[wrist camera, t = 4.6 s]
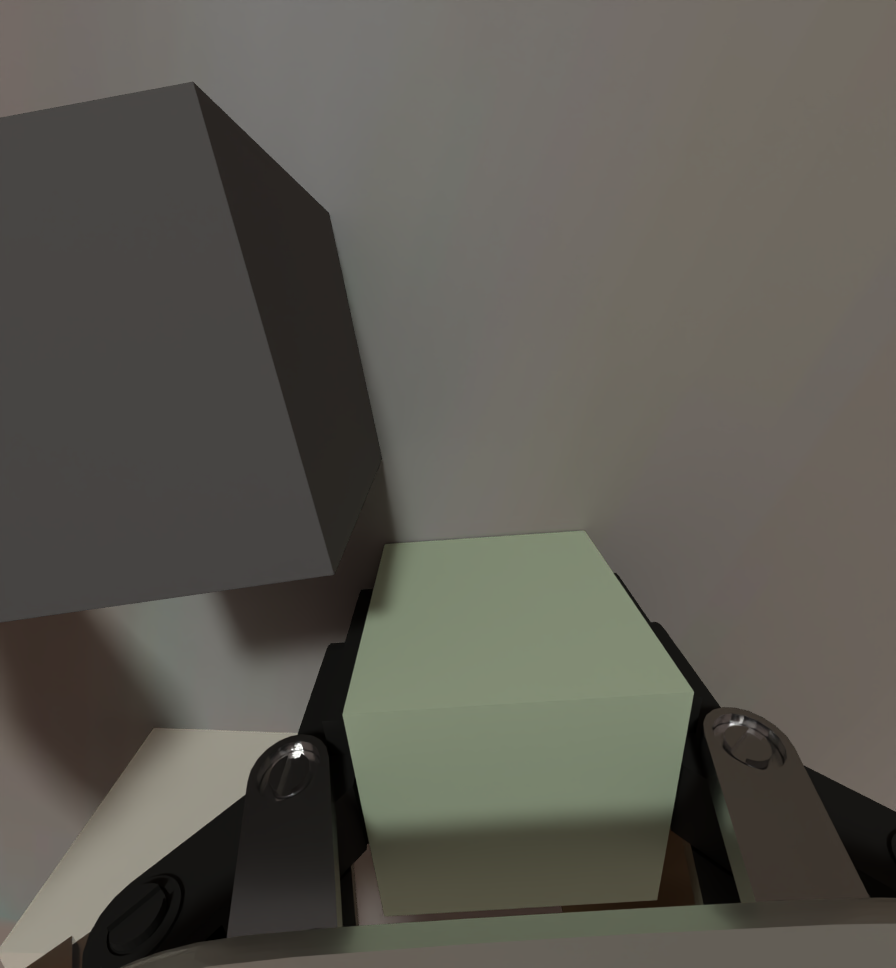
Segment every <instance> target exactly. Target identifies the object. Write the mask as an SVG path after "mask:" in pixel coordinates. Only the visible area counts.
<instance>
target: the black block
mask: <svg viewBox="0 0 896 968" xmlns="http://www.w3.org/2000/svg"><path fill="white" fill-rule="evenodd" d="M381 460H382V456H381V452H380V447H379V442H378V438H377V433H376V428H375V424H374V419H373V415H372V410H371V405H370V401H369V396H368V391H367V387H366V382H365V378H364V373H363V368H362V364H361V359H360V355H359V350H358V345H357V341H356V336H355V331H354V327H353V322H352V318H351V313H350V308H349V304H348V299H347V294H346V290H345V285H344V281H343V276H342V271H341V267H340V262H339V258H338V253H337V248H336V244H335V239H334V234H333V230H332V225H331V221H330V216H329V213H328V212H327V211H326V210H325V209H324V208H323V207H322V206H321V205H320V204H319V203H318V202H317V201H316V200H315V199H314V198H313V197H312V196H311V195H310V194H309V193H308V192H307V191H306V190H305V189H304V188H303V187H302V186H300V185H299V184H298V183H297V182H296V181H295V180H294V179H293V178H292V177H291V176H290V175H289V174H288V173H287V172H286V171H285V170H284V169H283V168H282V167H281V166H280V165H279V164H278V163H277V162H276V161H275V160H274V159H272V158H271V157H270V156H269V155H268V154H267V153H266V152H265V151H264V150H263V149H262V148H261V147H260V146H259V145H258V144H257V143H256V142H255V141H254V140H253V139H252V138H251V137H250V136H249V135H248V134H247V133H246V132H245V131H243V130H242V129H241V128H240V127H239V126H238V125H237V124H236V123H235V122H234V121H233V120H232V119H231V118H230V117H229V116H228V115H227V114H226V113H225V112H224V111H223V110H222V109H221V108H220V107H219V106H218V105H217V104H215V103H214V102H213V101H212V100H211V99H210V98H209V97H208V96H207V95H206V94H205V93H204V92H203V91H202V90H201V89H200V88H199V87H198V86H197V85H196V84H195V83H194V82H189V83H184V84H178V85H173V86H168V87H162V88H157V89H152V90H146V91H141V92H136V93H130V94H125V95H119V96H114V97H109V98H103V99H98V100H93V101H87V102H82V103H77V104H71V105H66V106H61V107H55V108H50V109H44V110H39V111H34V112H28V113H23V114H18V115H12V116H7V117H2V118H0V622H7V621H14V620H21V619H28V618H35V617H42V616H49V615H56V614H63V613H70V612H77V611H84V610H91V609H98V608H105V607H112V606H119V605H126V604H133V603H140V602H147V601H154V600H161V599H168V598H175V597H182V596H189V595H196V594H203V593H210V592H217V591H224V590H231V589H238V588H245V587H252V586H259V585H266V584H273V583H280V582H287V581H294V580H301V579H308V578H315V577H322V576H329V575H334V574H335V572H336V569H337V567H338V564H339V562H340V559H341V557H342V555H343V552H344V550H345V547H346V545H347V542H348V540H349V538H350V535H351V533H352V530H353V528H354V525H355V523H356V521H357V518H358V516H359V513H360V511H361V508H362V506H363V503H364V501H365V499H366V496H367V494H368V491H369V489H370V486H371V484H372V482H373V479H374V477H375V474H376V472H377V469H378V467H379V465H380V462H381Z"/></svg>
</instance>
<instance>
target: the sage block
mask: <svg viewBox="0 0 896 968" xmlns="http://www.w3.org/2000/svg"><path fill="white" fill-rule="evenodd" d="M693 695H694V691H693V690H692V688H691V687H690V685H689V684H688V682H687V681H686V679H685V678H684V676H683V675H682V673H681V672H680V670H679V669H678V668H677V666H676V665H675V663H674V662H673V660H672V659H671V657H670V656H669V654H668V653H667V651H666V650H665V648H664V647H663V645H662V644H661V642H660V641H659V640H658V638H657V637H656V635H655V634H654V632H653V631H652V629H651V628H650V626H649V625H648V623H647V622H646V620H645V619H644V617H643V616H642V614H641V613H640V612H639V610H638V609H637V607H636V606H635V604H634V603H633V601H632V600H631V598H630V597H629V595H628V594H627V592H626V591H625V589H624V588H623V587H622V585H621V584H620V582H619V581H618V579H617V578H616V576H615V575H614V573H613V572H612V570H611V569H610V567H609V566H608V564H607V563H606V561H605V560H604V559H603V557H602V556H601V554H600V553H599V551H598V550H597V548H596V547H595V545H594V544H593V542H592V541H591V539H590V538H589V536H588V535H587V534H586V532H585V531H571V532H556V533H541V534H527V535H512V536H497V537H482V538H467V539H452V540H438V541H423V542H408V543H393V544H385V545H384V549H383V553H382V557H381V561H380V565H379V569H378V573H377V577H376V581H375V585H374V589H373V593H372V597H371V601H370V605H369V609H368V613H367V618H366V622H365V626H364V630H363V634H362V638H361V642H360V646H359V650H358V654H357V658H356V662H355V666H354V670H353V674H352V678H351V682H350V686H349V690H348V694H347V698H346V702H345V706H344V710H343V719H344V724H345V729H346V734H347V739H348V743H349V748H350V753H351V758H352V763H353V768H354V772H355V777H356V782H357V787H358V792H359V796H360V801H361V806H362V811H363V816H364V821H365V825H366V830H367V835H368V840H369V845H370V849H371V854H372V859H373V864H374V869H375V874H376V878H377V883H378V888H379V893H380V898H381V903H382V907H383V912H384V916H400V915H417V914H434V913H450V912H467V911H484V910H501V909H517V908H534V907H551V906H567V905H584V904H601V903H618V902H634V901H651V900H657V898H658V892H659V886H660V881H661V875H662V870H663V864H664V858H665V853H666V847H667V841H668V836H669V830H670V825H671V819H672V813H673V808H674V802H675V797H676V791H677V785H678V780H679V774H680V768H681V763H682V757H683V752H684V746H685V740H686V735H687V729H688V723H689V718H690V712H691V707H692V701H693Z"/></svg>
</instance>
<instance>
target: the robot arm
mask: <svg viewBox="0 0 896 968" xmlns="http://www.w3.org/2000/svg"><path fill="white" fill-rule="evenodd" d="M614 575H615V576H616V578H617V579H618V581H619V582H620V584H621V585H622V587H623V588H624V589H625V591H626V592H627V594H628V595H629V597H630V598H631V600H632V601H633V603H634V604H635V606H636V607H637V609H638V610H639V612H640V613H641V614H642V616H643V617H644V619H645V620H646V622H647V623H648V625H649V626H650V628H651V629H652V631H653V632H654V634H655V635H656V637H657V638H658V640H659V641H660V642H661V644H662V645H663V647H664V648H665V650H666V651H667V653H668V654H669V656H670V657H671V659H672V660H673V662H674V663H675V665H676V666H677V668H678V669H679V670H680V672H681V673H682V675H683V676H684V678H685V679H686V681H687V682H688V684H689V685H690V687H691V688H692V690H693V691H694V695H693V701H692V707H691V712H690V718H689V723H688V729H687V735H686V740H685V746H684V752H683V757H682V763H681V768H680V774H679V780H678V785H677V791H676V797H675V802H674V808H673V813H672V819H671V825H670V829H671V831H672V832H674V833H675V834H677V835H678V836H679V837H681V838H682V841H683V847H684V852H685V857H686V862H687V867H688V872H689V877H690V882H691V887H692V892H693V897H694V902H695V905H694V906H675V907H656V908H638V909H621V910H604V911H587V912H571V913H554V914H537V915H521V916H504V917H488V918H472V919H457V920H441V921H426V922H411V923H396V924H381V925H366V926H359V920H358V908H357V897H356V885H355V874H354V862H355V861H356V860H357V859H358V858H359V857H360V856H361V855H362V854H363V853H364V852H365V851H366V849H367V844H369V840H368V835H367V830H366V825H365V821H364V816H363V811H362V806H361V801H360V796H359V792H358V787H357V782H356V777H355V772H354V768H353V763H352V758H351V753H350V748H349V743H348V739H347V734H346V729H345V724H344V719H343V710H344V706H345V702H346V698H347V694H348V690H349V686H350V682H351V678H352V674H353V670H354V666H355V662H356V658H357V654H358V650H359V646H360V642H361V638H362V634H363V630H364V626H365V622H366V618H367V613H368V609H369V605H370V601H371V597H372V593H373V589H364V590H361V591H360V594H359V597H358V600H357V604H356V607H355V611H354V614H353V617H352V621H351V624H350V628H349V631H348V634H347V638H346V641H345V643H331V644H330V645H329V646H328V648H327V650H326V653H325V656H324V659H323V662H322V665H321V668H320V671H319V673H318V676H317V679H316V682H315V685H314V688H313V691H312V694H311V697H310V700H309V703H308V705H307V708H306V711H305V714H304V717H303V720H302V723H301V726H300V729H299V732H298V735H294V736H289V737H287V738H285V739H282V740H280V741H278V742H276V743H275V744H274V745H272V746H271V747H269V748H268V749H267V750H266V751H265V752H264V753H263V754H262V755H261V756H260V757H259V758H258V759H257V761H256V762H255V764H254V766H253V767H252V769H251V771H250V774H249V778H248V781H247V788H246V794H245V795H244V796H243V797H241V798H240V799H239V800H237V801H236V802H235V803H234V804H232V805H231V806H230V807H228V808H227V809H226V810H224V811H223V812H222V813H221V814H219V815H218V816H217V817H215V818H214V819H213V820H211V821H210V822H209V823H208V824H206V825H205V826H204V827H202V828H201V829H200V830H198V831H197V832H196V833H195V834H193V835H192V836H191V837H189V838H188V839H187V840H185V841H184V842H183V843H182V844H180V845H179V846H178V847H176V848H175V849H174V850H173V851H171V852H170V853H169V854H167V855H166V856H165V857H163V858H162V859H161V860H160V861H158V862H157V863H156V864H154V865H153V866H152V867H150V868H149V869H148V870H147V871H145V872H144V873H143V874H141V875H140V876H139V877H137V878H136V879H135V880H134V881H132V882H131V883H130V884H129V885H127V886H126V887H125V888H124V889H123V890H122V891H121V892H120V893H119V894H118V895H116V896H115V897H114V898H113V900H112V901H111V902H110V903H109V905H108V906H107V907H106V908H105V910H104V911H103V912H102V913H101V915H100V916H99V918H98V920H97V921H96V923H95V925H94V927H93V928H92V930H91V932H89V933H88V934H86V935H85V936H84V937H82V938H81V939H79V940H78V941H75V939H74V938H73V936H71V937H69V938H68V939H66V940H65V941H64V942H62V943H61V944H59V945H58V946H56V947H55V948H53V949H52V950H51V951H49V952H48V953H46V954H45V955H43V956H42V957H40V958H39V959H37V960H36V961H35V962H33V963H32V964H30V965H29V966H27V967H26V968H896V812H895V811H893V810H891V809H889V808H887V807H885V806H883V805H881V804H879V803H877V802H875V801H873V800H871V799H869V798H867V797H865V796H863V795H861V794H859V793H857V792H855V791H853V790H851V789H849V788H847V787H845V786H843V785H841V784H839V783H837V782H835V781H834V780H832V779H830V778H828V777H826V776H824V775H822V774H820V773H818V772H816V771H814V770H812V769H810V768H808V767H806V766H804V765H803V763H802V761H801V759H800V757H799V755H798V753H797V751H796V749H795V748H794V746H793V745H792V743H791V742H790V740H789V739H788V737H787V736H786V735H785V734H784V733H783V732H782V731H781V730H780V729H779V728H777V727H776V726H775V725H774V724H772V723H771V722H769V721H768V720H766V719H765V718H763V717H761V716H759V715H756V714H754V713H752V712H750V711H746V710H743V709H739V708H731V707H722V708H721V707H720V706H719V704H718V703H717V702H716V700H715V699H714V697H713V696H712V695H711V693H710V692H709V690H708V689H707V688H706V686H705V685H704V684H703V682H702V681H701V679H700V678H699V677H698V675H697V674H696V672H695V671H694V670H693V668H692V667H691V665H690V664H689V663H688V661H687V660H686V659H685V657H684V656H683V654H682V653H681V652H680V650H679V649H678V647H677V646H676V645H675V643H674V642H673V640H672V639H671V638H670V636H669V635H668V634H667V632H666V631H665V629H664V628H663V627H662V626H661V625H660V624H659V623H657V622H650V621H649V619H648V618H647V616H646V615H645V613H644V612H643V610H642V609H641V608H640V606H639V605H638V603H637V602H636V600H635V599H634V597H633V596H632V595H631V593H630V592H629V590H628V589H627V587H626V586H625V584H624V583H623V582H622V580H621V579H620V577H619V576H618V575H617V574H616V573H614Z"/></svg>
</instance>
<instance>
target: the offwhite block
mask: <svg viewBox="0 0 896 968" xmlns="http://www.w3.org/2000/svg"><path fill="white" fill-rule="evenodd" d="M294 735H298V733H275V732H250V731H224V730H198V729H172V728H153V730H152V731H151V733H150V734H149V735H148V737H147V738H146V740H145V741H144V743H143V744H142V745H141V747H140V748H139V750H138V751H137V752H136V754H135V755H134V757H133V758H132V760H131V761H130V762H129V764H128V765H127V767H126V768H125V770H124V771H123V772H122V774H121V775H120V777H119V778H118V780H117V781H116V782H115V784H114V785H113V787H112V788H111V790H110V791H109V792H108V794H107V795H106V797H105V798H104V800H103V801H102V802H101V804H100V805H99V807H98V808H97V810H96V811H95V812H94V814H93V815H92V817H91V818H90V820H89V821H88V822H87V824H86V825H85V827H84V828H83V830H82V831H81V832H80V834H79V835H78V837H77V838H76V839H75V841H74V842H73V844H72V845H71V847H70V848H69V849H68V851H67V852H66V854H65V855H64V857H63V858H62V859H61V861H60V862H59V864H58V865H57V867H56V868H55V869H54V871H53V872H52V874H51V875H50V877H49V878H48V879H47V881H46V882H45V884H44V885H43V887H42V888H41V889H40V891H39V892H38V894H37V895H36V897H35V898H34V899H33V901H32V902H31V904H30V905H29V907H28V908H27V909H26V911H25V912H24V914H23V915H22V917H21V918H20V919H19V921H18V922H17V924H16V925H15V926H14V928H13V929H12V931H11V932H10V934H9V935H8V936H7V938H6V939H5V941H4V942H3V944H2V945H1V947H0V960H1V962H2V964H3V965H4V967H5V968H26V967H27V966H29V965H30V964H32V963H33V962H35V961H36V960H37V959H39V958H40V957H42V956H43V955H45V954H46V953H48V952H49V951H51V950H52V949H53V948H55V947H56V946H58V945H59V944H61V943H62V942H64V941H65V940H66V939H68V938H69V937H71V936H73V938H74V939H75V941H78V940H79V939H81V938H82V937H84V936H85V935H86V934H88V933H89V932H91V930H92V928H93V927H94V925H95V923H96V921H97V920H98V918H99V916H100V915H101V913H102V912H103V911H104V910H105V908H106V907H107V906H108V905H109V903H110V902H111V901H112V900H113V898H114V897H115V896H116V895H118V894H119V893H120V892H121V891H122V890H123V889H124V888H125V887H126V886H127V885H129V884H130V883H131V882H132V881H134V880H135V879H136V878H137V877H139V876H140V875H141V874H143V873H144V872H145V871H147V870H148V869H149V868H150V867H152V866H153V865H154V864H156V863H157V862H158V861H160V860H161V859H162V858H163V857H165V856H166V855H167V854H169V853H170V852H171V851H173V850H174V849H175V848H176V847H178V846H179V845H180V844H182V843H183V842H184V841H185V840H187V839H188V838H189V837H191V836H192V835H193V834H195V833H196V832H197V831H198V830H200V829H201V828H202V827H204V826H205V825H206V824H208V823H209V822H210V821H211V820H213V819H214V818H215V817H217V816H218V815H219V814H221V813H222V812H223V811H224V810H226V809H227V808H228V807H230V806H231V805H232V804H234V803H235V802H236V801H237V800H239V799H240V798H241V797H243V796H244V795H245V794H246V788H247V781H248V778H249V774H250V771H251V769H252V767H253V766H254V764H255V762H256V761H257V759H258V758H259V757H260V756H261V755H262V754H263V753H264V752H265V751H266V750H267V749H268V748H269V747H271V746H272V745H274V744H275V743H276V742H278V741H280V740H282V739H285V738H287V737H289V736H294Z"/></svg>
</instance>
